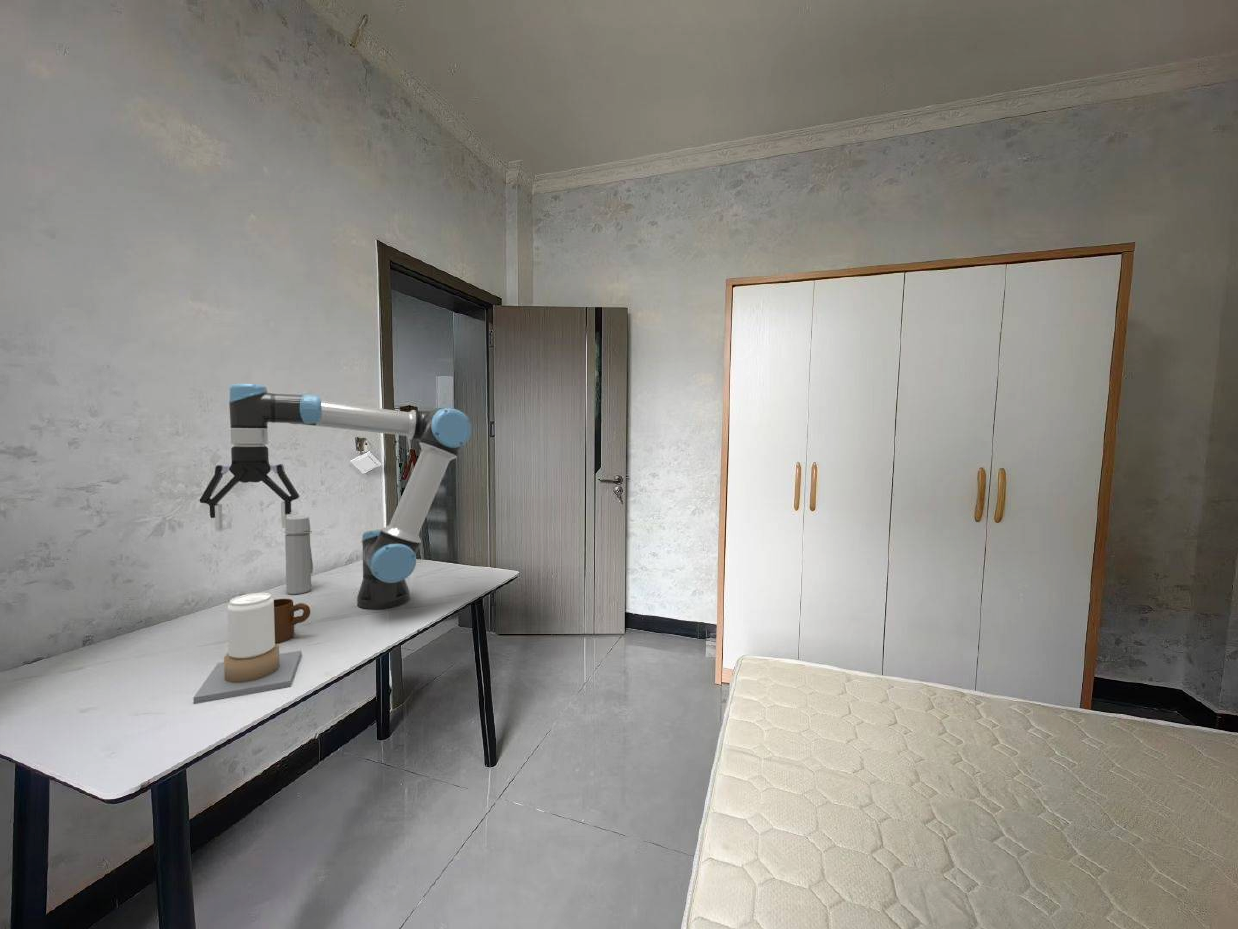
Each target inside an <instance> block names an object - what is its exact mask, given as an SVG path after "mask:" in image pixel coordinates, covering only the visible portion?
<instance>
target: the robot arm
mask: <svg viewBox="0 0 1238 929" xmlns="http://www.w3.org/2000/svg"><path fill="white" fill-rule="evenodd" d="M228 405H229V420H230V422H229V423H230V444H231V445H233V446H232V447H231V448H230V449H231V450H230V451H231V457H230V458H231V464H230V466H229V465H224V464H218V465H216V466H215V468H214V474H213V477H212V478H211V480H210V481H209V483H208V485H207V486H206V488H205V490H204V492H203V494H201V497H200V499H199V502H200V504H206V505H208V506H209V516H210V518H211V519H214V520H215V521H214V522H215V524H214V526H215V532H217V533H218V532H221V531H222V530H223V529H224V528H223V503H219V502H220V501H221V500H222V499H223V498H224V497H225V496H226V495H227V494H228V493H229V492H230V491H231V490H232V489H233V488H234V487H235V486H236V485H238V483H239V482H240V483H242V484H243V483H244V484H246V483H259V482H262V483H264V484H265V485H266V486H267V487H269V489H271V490H272V491H273V492H274V493H275V494H276V495H277V496H278V497H279V498H281V500H282V501H281V502H280V510H281V511H280V514H281V528H282V529H283V528H284V529H285V528H286V526H287V518H288V516H287V515H291V514H292V502H293V501H295V500H297V499H299V498H300V494H299V492H298V490H296V488H295V487H294V485H293V483H292V482H291V480H290V479H289V477H288V475H287V473H286V472H285V467H284V464H283V463H280V464H275V465H270V461H269V448H268V446H266V445H268V444H269V435H268V434H269V430H268V423H273V424H274V423H275V424H276V423H280V424H291V425H304V426H315V427H324V428H331V429H332V428H333V429H341V430H348V431H349V430H350V431H351V430H352V431H357V432H358V431H361V432H367V433H368V432H371V433H376V434H377V433H378V434H387V435H396V436H403V437H407V438H408V440H413V441H419V443H418V444H419V446H420V448H421V451H420V454H419V455H418V458H417V461H416V463H415V465H414V468H413V470H412V472H411V474H410V477H409V478H408V482H407V484H406V486H405V488H404V490H403V493H402V495H401V497H400V499H399V502H398V504H397V507H396V509H395V511H394V512H393V513H394V514H393V516H392V518H391V520H390V522H389V524H388V525H387V526H385V527H383V528H381V529H375V530H368V531H365V532H363V533H362V539H361V543H362V545H361V546H362V582H361V585H360V587H359V591H358V593H357V596H356V605H357V607H359V608H362V609H367V610H379V609H390V608H393V607H396V606H400V605H402V604H406V602H408V601H409V600H410V598H411V597H410V595H411V594H410V589H409V586H408V583H407V581H406V579H407V578H409V577H410V576H411V575H412V573H413V572H414V570H415V568H416V566H417V556H416V554H417V552H418V551H419V548H420V546H421V543H422V540H421V539H420V536H419V535H420V532H421V529H422V527H423V524H424V522H425V521H426V518H427V516H428V513H429V510H430V508H431V506H432V503H433V501H434V499H435V496H436V494H437V492H438V489H439V488H440V485H441V483H442V479H444V478H443V477H444V475H445V473H446V471H447V468H448V466H449V463H450V462H451V461H452V460H455V459H457V458H458V455H459V453H460V451H461V449H462V446H464V445H465V444H466V443H467V442H468V441H469V439H470V438H471V435H472V430H473V429H472V424H471V421H470V419H469V418H468V416H467V415H466V413H464V412H462V411H461V410H458V409H456V408H452V407H445V408H441V409H433V410H419V409H418V410H417V409H412V410H410V411H401V410H394V409H385V408H377V407H371V406H364V405H355V404H349V403H339V402H333V401H327V400H322V399H321V397H320V396H319V395H309V394H293V393H291V394H288V393H286V394H285V393H270V392H268V390H267V387H266V386H265V385H263V384H254V383H234V384H232V385H231V386H230V388H229V404H228ZM271 471H273V472H274V474H277V476H278V477H279V479H280V481H281V482H282V484H283V486H284V487H285V488H286V490H287V491H288V493H287V492H285V490H283V489H282V488H281V487H280V486H279V485H278V484H277V483H276V482H275V481H273V479H272V478H271V477H270V476H269V475H268V474H269V473H270V472H271ZM227 472H230V473H231V474H232V476H233V477H232V478H230V480H229V482H227V483H226V484H225V485H224V486H223V487H222V488H221V489H220V490H219V491H218V492H216V494H215V495H214V496H213V497H212V498H211V496H212V495H213V494H214V492H215V490H216V488H217V487H218V485H219V483H220V481H221V480H222V478H223V476H224V475H225V474H227ZM289 494H290V496H289Z"/></svg>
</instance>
